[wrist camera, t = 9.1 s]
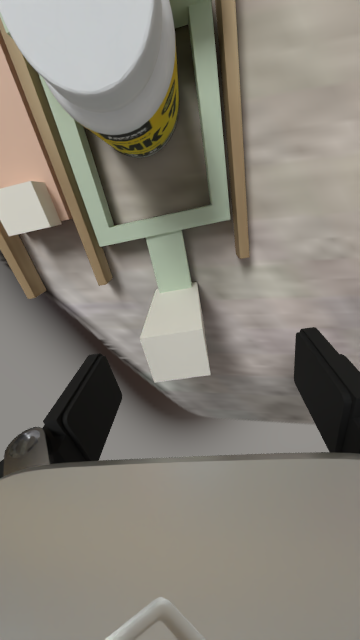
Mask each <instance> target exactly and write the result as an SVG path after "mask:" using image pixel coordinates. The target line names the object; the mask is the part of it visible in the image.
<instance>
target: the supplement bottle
mask: <svg viewBox="0 0 360 640" xmlns="http://www.w3.org/2000/svg"><path fill="white" fill-rule="evenodd" d="M0 12H1V15H2V17H3V20H4V22H5V24H6V26H7V28H8V31H9V33H10V34H11V36H12V38H13V40H14V42H15V43H16V45H17V47H18V48H19V50H20V51H21V53H22V54H23V56H24V57H25V58H26V60H27V61H28V62H29V64H30V65H31V66H32V67H33V68H34V69H35V70H36V71H37V72H38V73H39V75H41V76H42V77H43V78H44V80H45V82H46V84H47V86H48V87H49V89H50V91H51V92H52V94H53V95H54V97H55V98H56V100H57V101H58V102H59V104H60V105H61V106H62V107H63V109H64V110H65V111H66V112H67V113H68V114H69V115H70V116H71V117H72V118H73V119H75V120H76V121H77V122H78V123H79V124H81V125H82V126H84V127H85V128H87V129H88V130H90V131H91V132H92V133H94V134H95V135H96V136H98V137H99V138H101V139H102V140H104V141H105V142H106V143H108V144H109V145H111V146H112V147H113V148H114V149H116V150H117V151H119V152H121V153H123V154H125V155H128V156H131V157H147V156H150V155H152V154H155V153H156V152H158V151H159V150H160V149H161V148H163V147H164V145H165V144H166V143H167V142H168V140H169V139H170V137H171V135H172V133H173V131H174V129H175V126H176V123H177V119H178V112H179V92H178V74H177V55H176V39H175V29H174V21H173V15H172V10H171V5H170V2H169V0H0Z"/></svg>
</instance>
